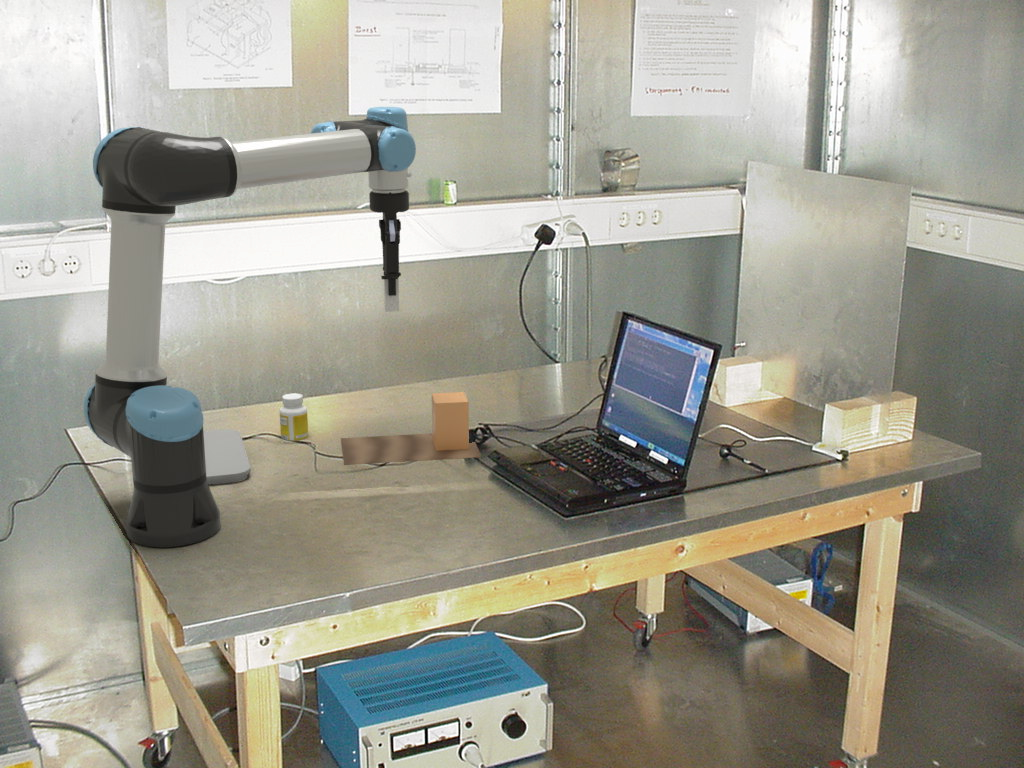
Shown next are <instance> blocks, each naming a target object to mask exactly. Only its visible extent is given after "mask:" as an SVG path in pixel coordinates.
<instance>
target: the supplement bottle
mask: <svg viewBox="0 0 1024 768" xmlns="http://www.w3.org/2000/svg"><path fill="white" fill-rule="evenodd" d="M281 399H282V404H283V405H282V406H281V407H280V408H279V423H280V426H279V427H280V438H281V439H282V440H284V441H300V440H304V439H307V438H308V437H309V424H308V423H309V421H308V419H309V418H308V408H307V407H306V405H304V404H303V403H304V396H303V394H301V393H293V392H292V393H286V394H283V395H282V397H281Z"/></svg>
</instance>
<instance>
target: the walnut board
mask: <svg viewBox="0 0 1024 768" xmlns="http://www.w3.org/2000/svg"><path fill="white" fill-rule="evenodd" d="M340 444H341V445H340V446H341V451H342V458H343V459H342V460H343V466H349V465H350V466H351V465H353V466H354V465H366V464H370V465H371V464H384V463H386V464H387V463H404V462H419V461H420V462H421V461H437V460H440V461H442V460H458V459H470V458H471V459H473V458H474V459H475V458H477V459H478V458H482V454H481V453H480V449H479V448H478V445H477V443H476V441H475V442H472V443H469V449H460V450H442V451H436V449H435V446H434V443H433V440H432V432H431V433H415V434H398V435H397V434H395V435H393V434H392V435H377V436H376V435H375V436H361V437H359V436H358V437H356V436H355V437H342V438H340Z"/></svg>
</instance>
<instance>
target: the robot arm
mask: <svg viewBox="0 0 1024 768" xmlns="http://www.w3.org/2000/svg"><path fill="white" fill-rule="evenodd" d="M416 154H417V148H416V142H415V139H414V137H413V135H412V134H411V133H410V132H409V129H408V116H407V112H406V111H405V109H404V108H402V107H398V106H374V107H369V108H368V109H367V111H366V119H365V118H364V119H361V120H358V119H357V120H340V121H332V120H329V121H327V122H325V121H324V122H319V123H317V124H315V125H314V126H313V127H312V129H311V132H309V133H304V134H295V135H287V136H285V135H283V136H275V137H274V136H273V137H266V138H256V139H246V140H237V141H236V140H235V141H229V140H228V139H226V138H225V137H224V136H212V137H211V136H210V137H201V136H190V135H182V134H177V133H172V132H166V131H160V130H154V129H150V128H146V127H145V128H144V127H141V126H136V127H135V126H131V127H122V128H117V129H115V130H113V131H111V132H110V133H108V134H106V136H105V137H103V138H102V139H101V140H100V142H99V143H98V145H97V146H96V148H95V151H94V154H93V158H92V170H93V174H94V177H95V179H96V181H97V182H98V183H97V184H99V185H100V187H101V188H102V197H101V198H102V201H101V209H102V210H103V212H104V213H105V214H106V215H107V216H108V217H109V218H110V225H111V226H110V244H109V246H110V247H109V266H108V267H109V272H108V273H109V274H108V295H107V296H108V297H107V320H106V325H107V326H106V345H105V360H104V362H103V363H102V364H101V365H100V366H99V367H98V368H96V370H95V377H94V380H95V381H94V384H93V385H92V387H91V388H89V389H88V390H87V393H86V395H85V398H84V401H83V402H84V403H83V414H84V419H85V422H86V424H87V426H88V428H89V429H90V430H91V432H92V433H93V434H94V435H95V436H96V438H98V439H100V440H101V441H102V443H104V444H106V445H108V446H110V447H112V448H115V449H116V450H118V451H120V452H121V453H124V454H125V455H126V456H128V457H130V461H131V470H132V481H133V492H132V495H131V496H132V497H131V499H130V503H129V507H128V512H127V515H126V519H125V526H126V535H127V538H128V539H129V540H130V541H131V542H132V543H135V544H138V545H141V546H144V547H151V548H175V547H184V546H188V545H191V544H195V543H199V542H202V541H205V540H206V539H209V538H211V537H212V536H214V535H215V534H217V533H218V531H219V530H220V529H221V524H222V523H221V512H220V509H219V506H218V504H217V502H216V499H215V497H214V495H213V493H212V491H211V489H210V485H208V484H207V478H206V462H205V447H204V432H203V431H204V413H203V411H202V405H201V401H200V400H199V398H198V396H197V395H196V394H195V393H194V392H192V391H190V390H189V389H186V388H183V387H180V386H175V387H173V386H172V385H168V384H167V382H168V373H167V371H165V369H164V368H163V367H162V366H161V365H160V364H159V359H160V358H159V355H160V339H161V338H160V337H161V334H160V333H161V318H162V317H161V315H162V299H163V296H162V295H163V278H164V276H163V274H164V259H165V257H164V256H165V238H166V225H167V223H168V222H169V221H170V220H171V219H172V218H173V217H174V216H175V215H176V206H183V205H184V206H185V205H188V204H189V205H190V204H193V203H194V204H195V203H199V202H204V201H211V200H217V199H218V200H219V199H222V198H224V199H225V198H230V197H232V196H234V195H235V194H236V192H237V190H241V189H248V188H255V187H263V186H270V185H278V184H284V183H285V184H286V183H293V182H300V181H301V182H302V181H307V180H313V179H322V178H330V177H335V176H336V177H337V176H344V175H351V174H358V173H367V174H368V188H369V189H370V192H369V198H368V199H369V210H370V211H371V212H374V213H378V214H380V213H382V219H378V227H379V229H380V240H381V243H382V262H383V263H382V264H383V267H382V271H383V275H381V280H383V286H384V287H383V291H384V294H383V295H384V312H385V313H386V312H389V313H391V312H400V294H399V293H400V289H399V288H400V287H399V286H400V285H399V278H400V277H401V276H402V274H401V272H400V243H401V235H400V234H401V230H402V225H401V224H402V223H401V220H400V219H399V218H398V217H397V214H398V213H404V212H407V211H409V209H410V192H408V188H409V178H411V177H412V172H411V171H409V167H410V166H411V165H412V164H413V163H414V160H415V158H416Z"/></svg>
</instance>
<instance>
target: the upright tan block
mask: <svg viewBox="0 0 1024 768" xmlns="http://www.w3.org/2000/svg"><path fill="white" fill-rule="evenodd" d="M469 404H470V402H469V399H468V398H467V396H466V393H465V391H460V392H459V391H458V392H457V391H456V392H438V393H437V392H436V393H435V392H434V393H431V433H432V440H433V443H434V446H435V449H436V451H442V450H460V449H469V431H470V424H469V423H470V422H469V420H470V418H469V416H470V414H469V413H470V411H469V406H470V405H469Z"/></svg>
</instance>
